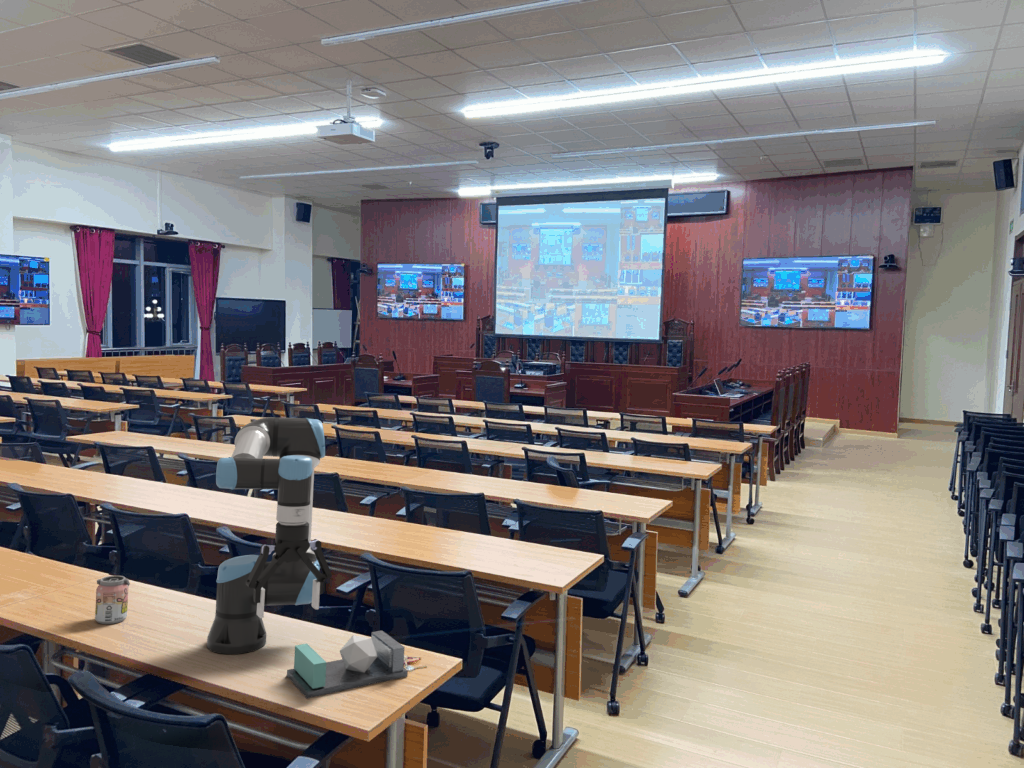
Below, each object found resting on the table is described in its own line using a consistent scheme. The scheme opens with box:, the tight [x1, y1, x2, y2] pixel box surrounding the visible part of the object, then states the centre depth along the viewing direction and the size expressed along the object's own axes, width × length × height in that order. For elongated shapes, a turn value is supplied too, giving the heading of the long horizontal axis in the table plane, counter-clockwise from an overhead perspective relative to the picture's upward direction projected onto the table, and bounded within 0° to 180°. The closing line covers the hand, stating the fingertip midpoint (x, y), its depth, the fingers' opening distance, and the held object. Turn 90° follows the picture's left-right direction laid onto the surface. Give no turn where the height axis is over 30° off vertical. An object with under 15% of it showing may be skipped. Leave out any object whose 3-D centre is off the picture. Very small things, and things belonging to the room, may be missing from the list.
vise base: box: [286, 630, 409, 699], centre depth 184 cm, size 14×26×8 cm, turn 125°
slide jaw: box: [293, 643, 327, 689], centre depth 178 cm, size 13×3×6 cm, turn 35°
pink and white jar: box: [94, 575, 131, 625], centre depth 213 cm, size 9×8×12 cm
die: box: [339, 634, 378, 673], centre depth 185 cm, size 8×9×10 cm
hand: (288, 612), depth 175 cm, fingers open, 12 cm apart
